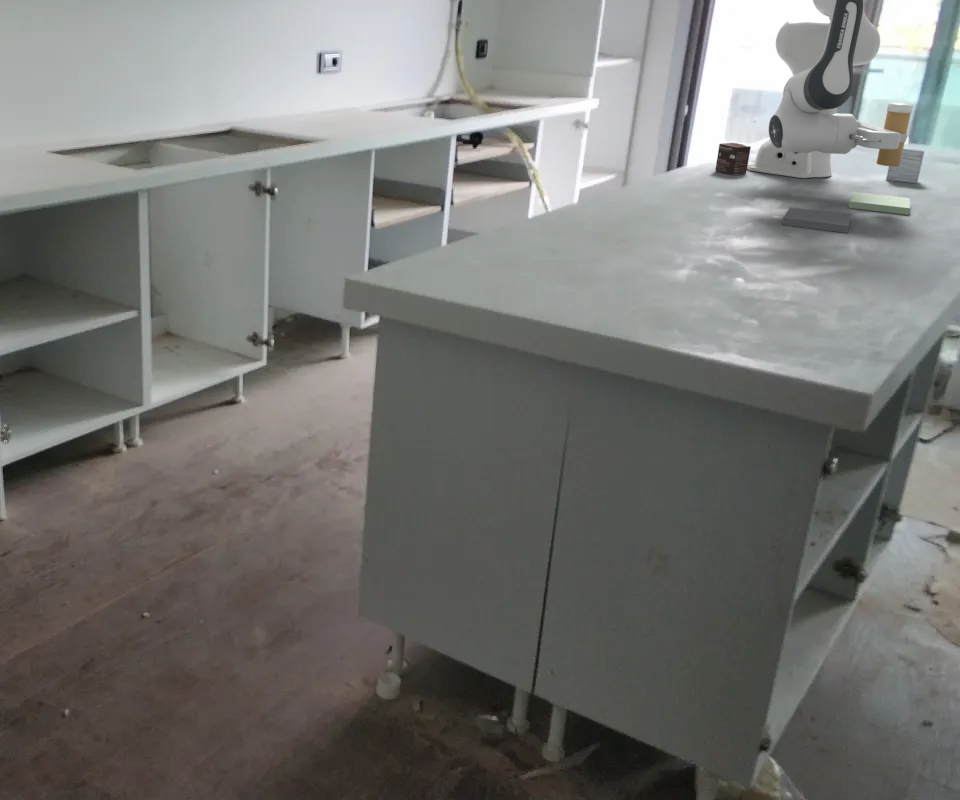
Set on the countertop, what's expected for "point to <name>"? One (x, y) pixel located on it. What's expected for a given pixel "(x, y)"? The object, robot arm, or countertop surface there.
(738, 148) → the box
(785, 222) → the tile
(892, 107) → the pill bottle
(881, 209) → the tile
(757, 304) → the countertop surface
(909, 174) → the medicine box
